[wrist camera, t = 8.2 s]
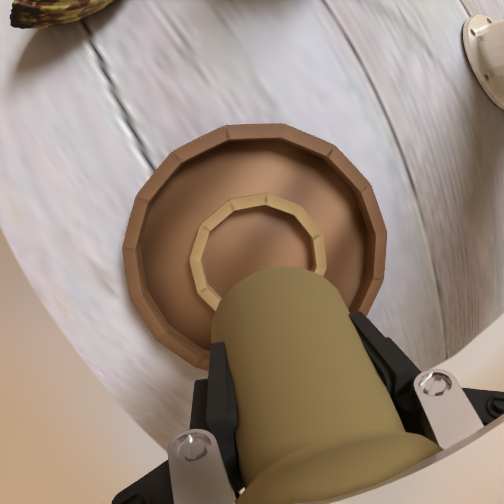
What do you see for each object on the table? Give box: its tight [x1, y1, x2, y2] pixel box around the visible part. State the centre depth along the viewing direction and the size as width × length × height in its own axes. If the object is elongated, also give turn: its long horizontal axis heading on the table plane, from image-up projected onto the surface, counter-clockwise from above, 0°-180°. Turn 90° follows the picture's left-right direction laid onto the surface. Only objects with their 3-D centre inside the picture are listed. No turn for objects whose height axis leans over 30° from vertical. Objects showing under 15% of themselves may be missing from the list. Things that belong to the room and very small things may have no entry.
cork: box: [211, 266, 445, 504], centre depth 7 cm, size 6×6×11 cm
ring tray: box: [122, 124, 387, 371], centre depth 23 cm, size 20×20×2 cm
